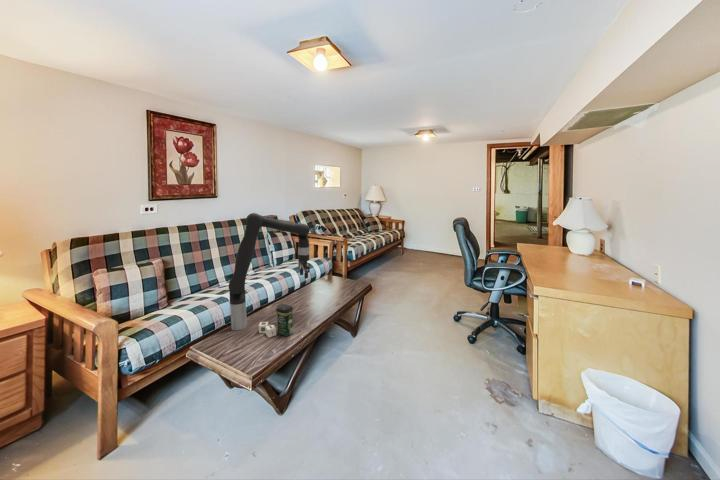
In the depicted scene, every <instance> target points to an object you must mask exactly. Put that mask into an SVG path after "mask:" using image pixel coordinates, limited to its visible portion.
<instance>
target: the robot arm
mask: <svg viewBox="0 0 720 480" xmlns="http://www.w3.org/2000/svg"><path fill="white" fill-rule="evenodd" d="M245 219H246V220H245V221H246V227H245V232H244V235H243V237H242V239H241V241H240V243H239V245H238V249H237V253H236V259H235V264H234V271H233V275H232V277H231V279H230V280H229V282H228V290H229V291H228V293H229V309H230V326H231V327H230V328H231V331H242V330H245V329H246V328H247V327H248V320H247V317H248V316H247V305H246V280H247V279H246V278H247V275H248V274H247V273H248V271H249V268H250V267H251V262H252V260H253V258H254V253H255V249H256V245H257V239H258V235H259V232H260V230H261V228H269V229H273V230H277V231H281V232H285V233H291V234H292V233H293V234H296V235H297V238H298V248H297V258H298V259H297V261H298V263H297V264H298V267H297V268H298V269H299V275H300V276H304V279H308V278H309V273H310V272H311V271H310V263H308V261H310V240H309V236H308V235H309V233H310V232H311V228H310V226H309V225H307V224H306V223H296V222H294V221H289V220H283V219H276V218H272V217H271V218H270V217H267V216H263V215H260V214H259V213H256V212H252V213H249V214H248V215H247V216H246V218H245Z"/></svg>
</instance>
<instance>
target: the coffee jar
mask: <svg viewBox="0 0 720 480" xmlns="http://www.w3.org/2000/svg"><path fill="white" fill-rule="evenodd" d="M293 308H294V307H293V306H292V305H290V304H286V303H280V304H278V305H277V306H276V315H277V325H276V326H277V327H276V334H278V335H281V336H284V337H288V336H291V335H292V334H293V333H294V323H293V322H294V321H293V313H294V309H293Z"/></svg>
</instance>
